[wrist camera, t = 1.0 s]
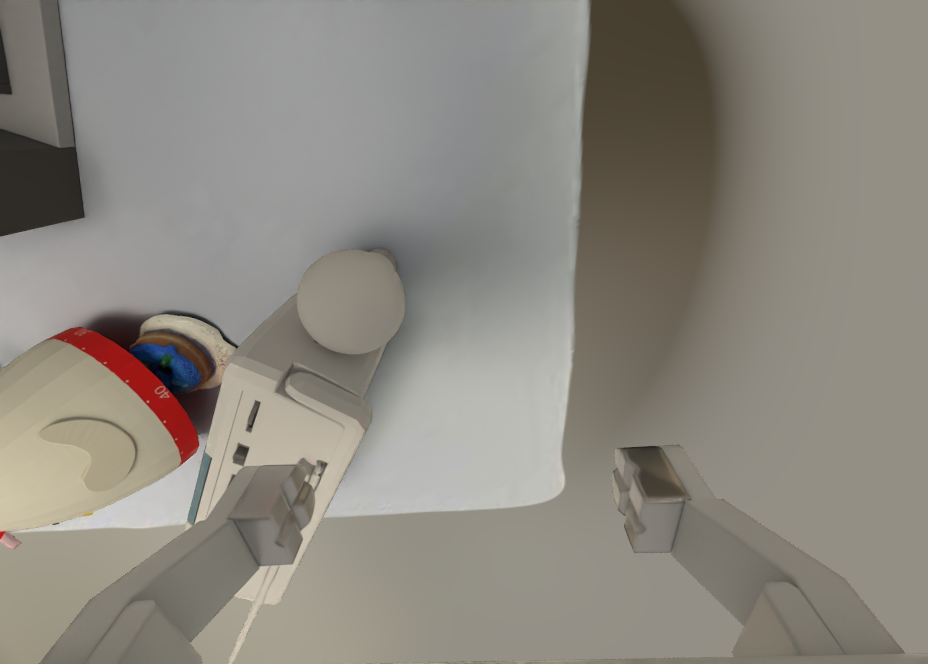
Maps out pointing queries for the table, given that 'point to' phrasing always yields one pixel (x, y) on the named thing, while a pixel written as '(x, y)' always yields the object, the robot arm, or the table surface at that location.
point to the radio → (284, 428)
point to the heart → (9, 541)
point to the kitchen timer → (83, 430)
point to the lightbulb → (352, 300)
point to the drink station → (35, 121)
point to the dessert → (182, 352)
